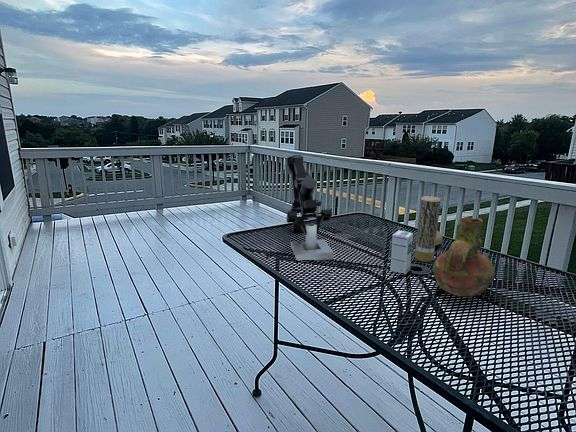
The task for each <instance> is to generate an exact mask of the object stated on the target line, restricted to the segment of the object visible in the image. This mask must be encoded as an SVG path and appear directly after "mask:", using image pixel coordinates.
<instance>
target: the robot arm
mask: <svg viewBox="0 0 576 432" xmlns="http://www.w3.org/2000/svg"><path fill="white" fill-rule="evenodd" d="M304 163H305V162H304V156H303V155H301V154H293V155H291V156H288V157H286V159H285V166H286V167H287V171H288V173H289V174H290V176H291V186H292V187H291V188H292V196H293V202H292V204H291V207H290V209H289V211H287V213H286V218H285V219H286V223H287V224H288V223H289V224H290V223H291V224H292V228H290V230H291V232H293V233H294V234H299V233H303V234H304V235H305V236H306V234H307V232H306V224H305V221H307V220H308V219H312V218H315V222H314V224H316V225H317V235H318V234H319V231H320V225H321V224H322V222H327V221H330V219H331V218H332V216H333V211H332V210H331V209H330V208H325V209H324V208H323V209H321V211H320V212H317V208H318V207H321V206H322V200H321V198H320V197H316V198H315V199H313V194H314V192H315V189H316V185H317V181H316V180H315V179H314V178H313V177H311V175H310V173H308V172H307V171H306V168H305V165H304Z"/></svg>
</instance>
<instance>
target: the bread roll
mask: <svg viewBox="0 0 576 432" xmlns="http://www.w3.org/2000/svg"><path fill="white" fill-rule="evenodd" d="M443 238H444V237H443V235H442V234H441V232H440V231H439V230H437V233H436V241H435V247H436V246H439V245H440V244H441V243H442V242H443ZM414 240H415V243H416V242H417V233H416V235H415V239H414Z"/></svg>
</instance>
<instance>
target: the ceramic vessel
mask: <svg viewBox="0 0 576 432" xmlns="http://www.w3.org/2000/svg"><path fill="white" fill-rule="evenodd" d="M483 222H484V221H483V219H482V218H480V217H468V216H467V217H466V216H465V217H464V216H463V218H462V217H460V218H459V219H458V222H457V225H456V229H455V230H456V231H455V237H454V241H453V242H452V243H451V244H450V246H449V248H448V250H447V251H445V252H442V254H440V255H439V256H437V258H436V259H435V261H434V262H433V264H432V272H433V273H434V277H435V281H436V283H437V285H438V286H439V288H440V289H441V290H442V291H445V292H446V293H448V294H451V295H453V296H458V297H472V296H474V297H475V296H478V295H480V294H482V293H484V292H485V291H486V290H487V289H488V288H489V287H490V285H491V283H493V281H494V279H495V275H496V273H495V271H496V270H495V267H494V264H493V262H492V261H491V260H490V258H488V257H487V256H486V255H483V254H482V252H481V249H482V245H483V241H482V239H481V235H482V231H483V230H482V228H483V224H484V223H483Z"/></svg>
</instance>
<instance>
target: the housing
mask: <svg viewBox="0 0 576 432" xmlns="http://www.w3.org/2000/svg"><path fill="white" fill-rule="evenodd" d="M291 249H292V250H291ZM290 250H291V252H292V251H293V252H292V254H293V253H294V254H293V256H294V255H295V257H294V259H295V258H296V259H295V261H296V260H298V261H300V260H301V262H303V261H302V260H314V261H325V260H334V251H333V250H332V248H331V247H330V246H329V244H328V243H327V241H326V240H325V239H324V238H323V239H321V238H320V239H317V244H316V249H314V250H308V249H306V239H305V240H294V241H293V240H292V241H290Z"/></svg>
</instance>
